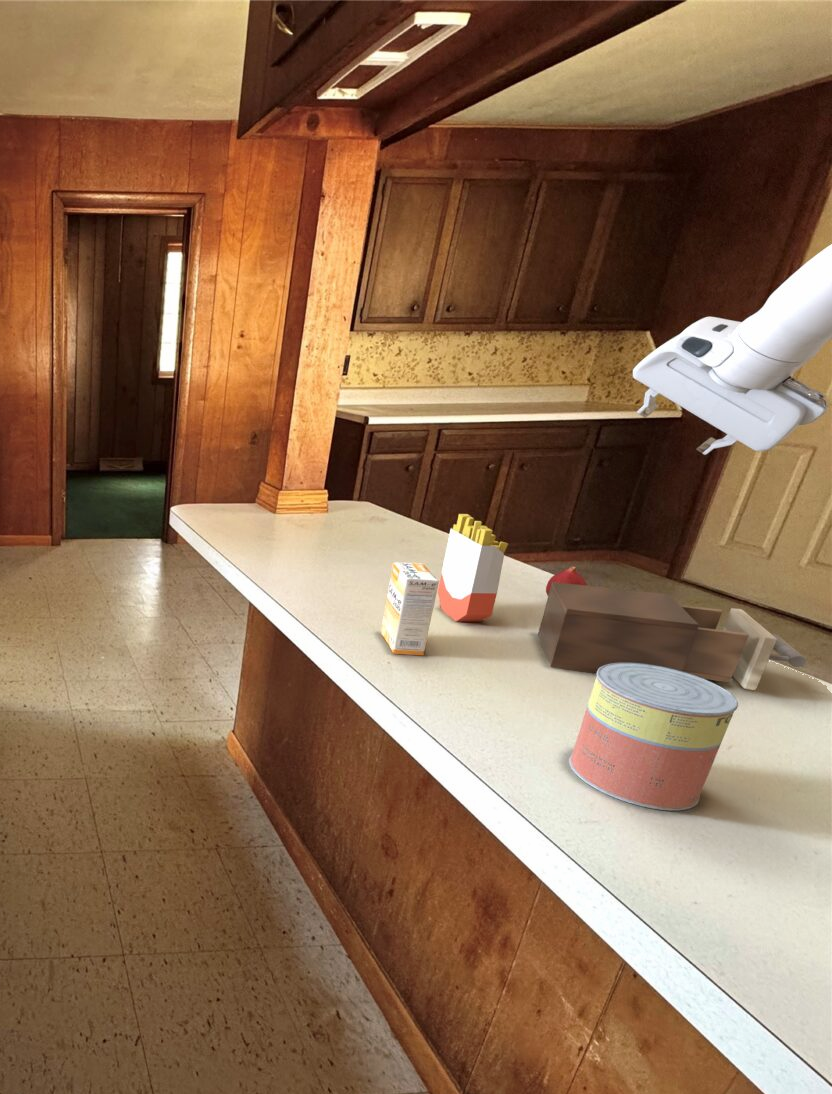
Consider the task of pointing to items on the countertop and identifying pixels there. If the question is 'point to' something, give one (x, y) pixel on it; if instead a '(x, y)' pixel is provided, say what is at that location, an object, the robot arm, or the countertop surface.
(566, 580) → the onion
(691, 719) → the canned food
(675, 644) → the cabinet
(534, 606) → the countertop surface
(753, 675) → the drawer
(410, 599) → the supplement box
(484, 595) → the french fries container
